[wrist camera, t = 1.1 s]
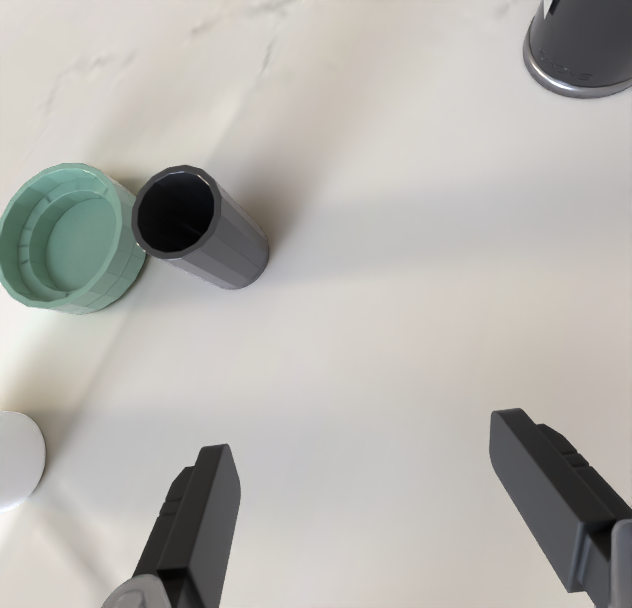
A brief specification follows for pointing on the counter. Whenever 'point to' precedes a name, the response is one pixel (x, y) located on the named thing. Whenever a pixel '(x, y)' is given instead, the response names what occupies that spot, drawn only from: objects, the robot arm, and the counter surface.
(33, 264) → the bowl
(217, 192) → the cup
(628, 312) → the counter surface
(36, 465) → the mug
